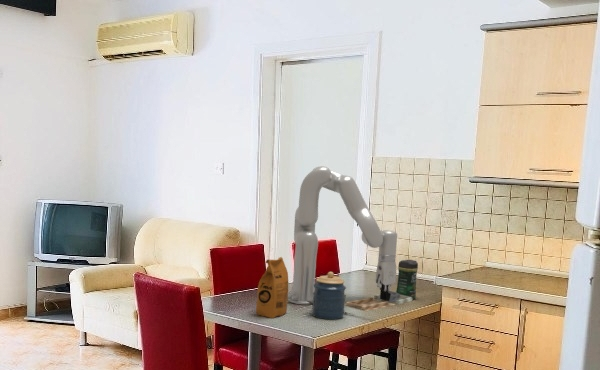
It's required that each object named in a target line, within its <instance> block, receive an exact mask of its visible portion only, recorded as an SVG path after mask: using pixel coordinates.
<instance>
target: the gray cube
mask: <svg viewBox="0 0 600 370" xmlns="http://www.w3.org/2000/svg"><path fill="white" fill-rule="evenodd" d="M395 296H396V295H393V294H391V293H388V300H382V299H380V301H384V302H385V301H388V302H389V303H394V302H395V301H394V300H395Z"/></svg>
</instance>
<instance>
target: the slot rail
mask: <svg viewBox="0 0 600 370" xmlns="http://www.w3.org/2000/svg"><path fill="white" fill-rule="evenodd" d="M378 299H379V300H378ZM413 300H414V299H413V297H408V296H404V295H400V298H399V300H396V301H395V303H393V302H390V303H389V302H388V301H381V299H380V294H375V295H373V297H367V298H362V299H357V300H351V301H347V302H345V304H344V307H349V308H353V309H357V310H360V311H364V312H368V311H373V310H377V309H382V308H387V307H390V306H391V307H392V306H396V305H401V304H404V303H408V302H413Z"/></svg>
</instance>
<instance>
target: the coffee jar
mask: <svg viewBox="0 0 600 370" xmlns="http://www.w3.org/2000/svg"><path fill="white" fill-rule="evenodd" d="M418 264H419V262H418V261H417V260H413V259H405V260H404V259H403V260H400V261H399V262H398V268H397V269H398V276H397V282H396V283H397V285H396V291H395V292H396V293H398V294H400V295H404V296H408V297H413V300H415V299H416V298H417V297H416V295H417V291H416V290H417V273H418V269H419V265H418Z"/></svg>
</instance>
